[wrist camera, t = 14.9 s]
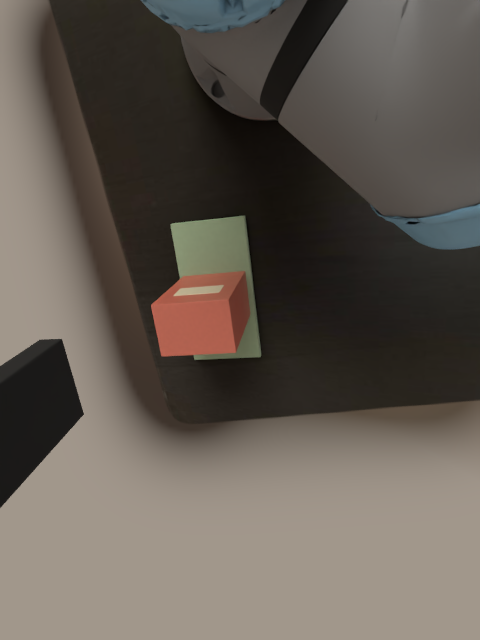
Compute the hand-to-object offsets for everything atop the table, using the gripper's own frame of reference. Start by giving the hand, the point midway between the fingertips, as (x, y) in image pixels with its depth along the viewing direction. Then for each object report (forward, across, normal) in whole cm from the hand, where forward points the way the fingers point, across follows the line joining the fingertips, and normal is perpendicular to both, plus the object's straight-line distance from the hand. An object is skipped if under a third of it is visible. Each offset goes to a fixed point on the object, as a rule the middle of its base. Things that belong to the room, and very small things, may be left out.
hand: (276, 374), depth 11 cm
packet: (+31, -10, -7) cm, 33 cm away
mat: (+32, -10, -7) cm, 34 cm away
